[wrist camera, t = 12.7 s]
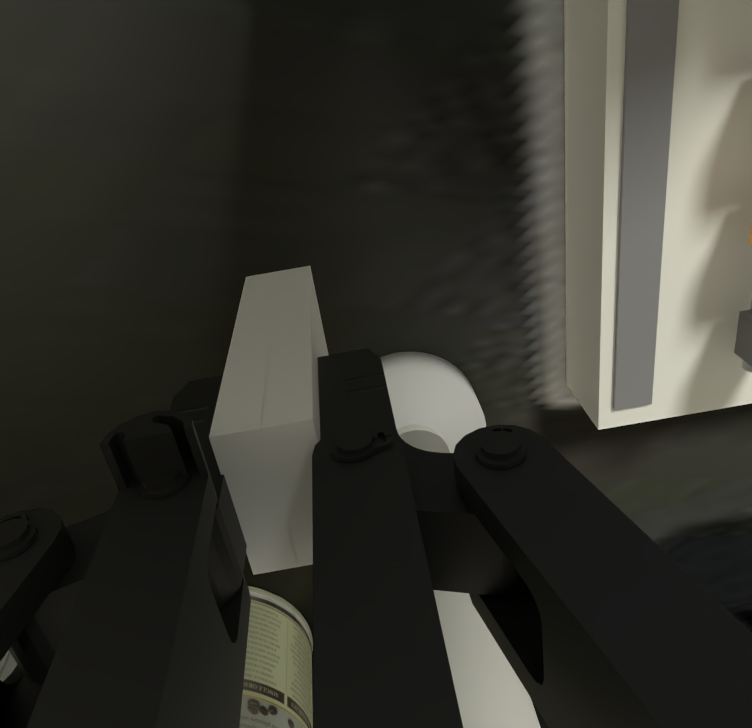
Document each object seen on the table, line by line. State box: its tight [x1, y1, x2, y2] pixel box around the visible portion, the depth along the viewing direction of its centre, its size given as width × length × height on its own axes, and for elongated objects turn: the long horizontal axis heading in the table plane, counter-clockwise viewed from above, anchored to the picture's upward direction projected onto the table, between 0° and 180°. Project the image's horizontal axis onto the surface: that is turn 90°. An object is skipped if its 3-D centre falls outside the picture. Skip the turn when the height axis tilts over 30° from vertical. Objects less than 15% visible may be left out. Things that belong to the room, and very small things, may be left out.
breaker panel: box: [564, 0, 752, 430], centre depth 25 cm, size 22×12×4 cm, turn 8°
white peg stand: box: [379, 351, 540, 728], centre depth 21 cm, size 7×7×26 cm
